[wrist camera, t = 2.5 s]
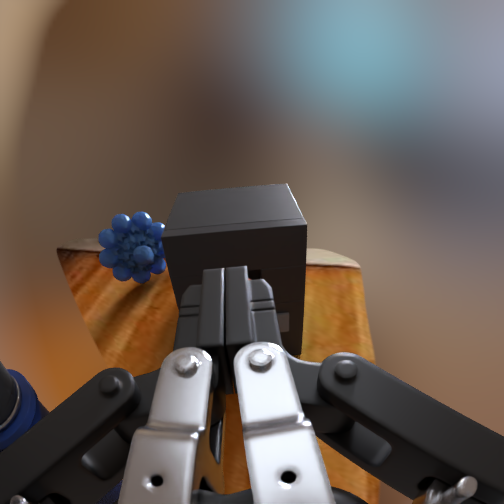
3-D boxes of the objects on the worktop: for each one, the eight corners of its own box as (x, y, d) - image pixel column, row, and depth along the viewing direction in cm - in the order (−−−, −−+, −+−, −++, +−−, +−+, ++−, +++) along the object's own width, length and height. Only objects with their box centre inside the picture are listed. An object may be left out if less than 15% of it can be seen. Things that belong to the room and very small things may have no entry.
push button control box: (193, 365, 33) (159, 239, 25) (199, 305, 42) (178, 193, 34) (301, 356, 34) (308, 226, 25) (287, 297, 43) (287, 183, 34)
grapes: (123, 311, 42) (96, 237, 35) (108, 290, 46) (84, 221, 40) (190, 277, 48) (176, 205, 42) (169, 260, 52) (155, 194, 46)
